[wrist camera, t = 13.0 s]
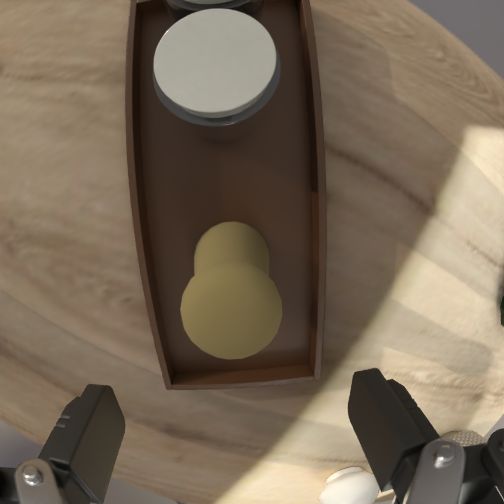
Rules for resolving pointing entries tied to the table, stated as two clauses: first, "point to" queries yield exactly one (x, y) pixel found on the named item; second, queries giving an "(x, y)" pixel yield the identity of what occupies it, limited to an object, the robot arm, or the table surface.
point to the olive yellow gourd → (231, 293)
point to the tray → (231, 202)
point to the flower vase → (350, 487)
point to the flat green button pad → (502, 312)
